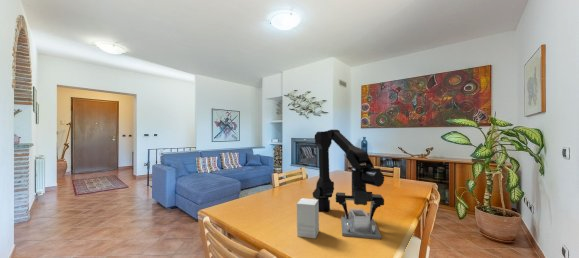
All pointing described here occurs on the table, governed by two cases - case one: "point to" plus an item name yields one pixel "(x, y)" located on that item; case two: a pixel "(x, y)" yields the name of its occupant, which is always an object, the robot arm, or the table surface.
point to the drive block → (359, 220)
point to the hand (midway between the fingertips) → (359, 219)
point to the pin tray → (349, 231)
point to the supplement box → (308, 218)
